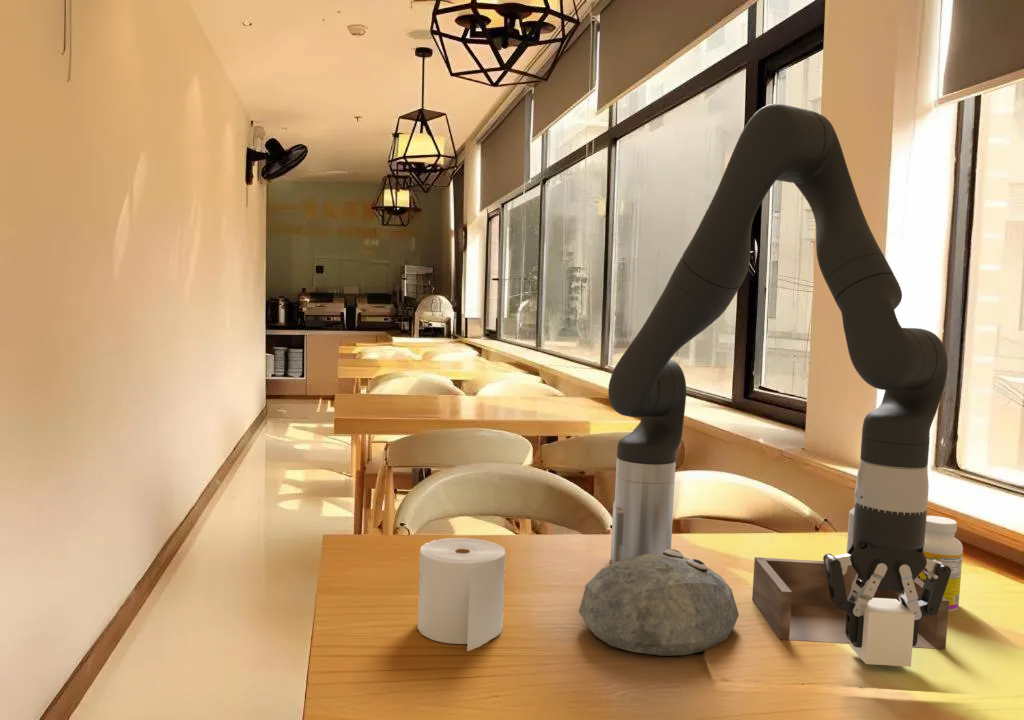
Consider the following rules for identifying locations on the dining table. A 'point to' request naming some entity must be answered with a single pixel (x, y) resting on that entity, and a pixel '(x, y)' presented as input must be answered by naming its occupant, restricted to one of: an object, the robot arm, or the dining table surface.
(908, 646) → the cream block
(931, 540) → the supplement bottle
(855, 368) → the robot arm
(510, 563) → the dining table surface
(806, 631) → the walnut box
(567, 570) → the dining table surface
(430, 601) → the toilet tissue
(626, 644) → the decorative stone
